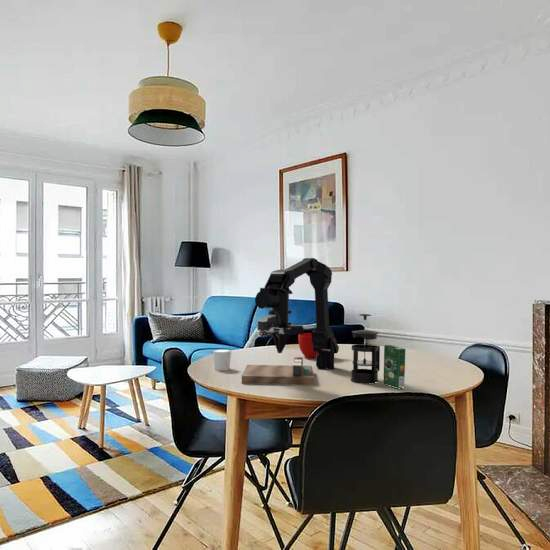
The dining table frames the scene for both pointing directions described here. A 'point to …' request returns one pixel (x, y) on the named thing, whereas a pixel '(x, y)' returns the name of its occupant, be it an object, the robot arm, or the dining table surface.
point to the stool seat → (277, 375)
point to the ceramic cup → (307, 345)
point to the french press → (364, 374)
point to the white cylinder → (222, 359)
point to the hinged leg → (297, 366)
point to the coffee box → (394, 366)
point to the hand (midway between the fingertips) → (279, 353)
